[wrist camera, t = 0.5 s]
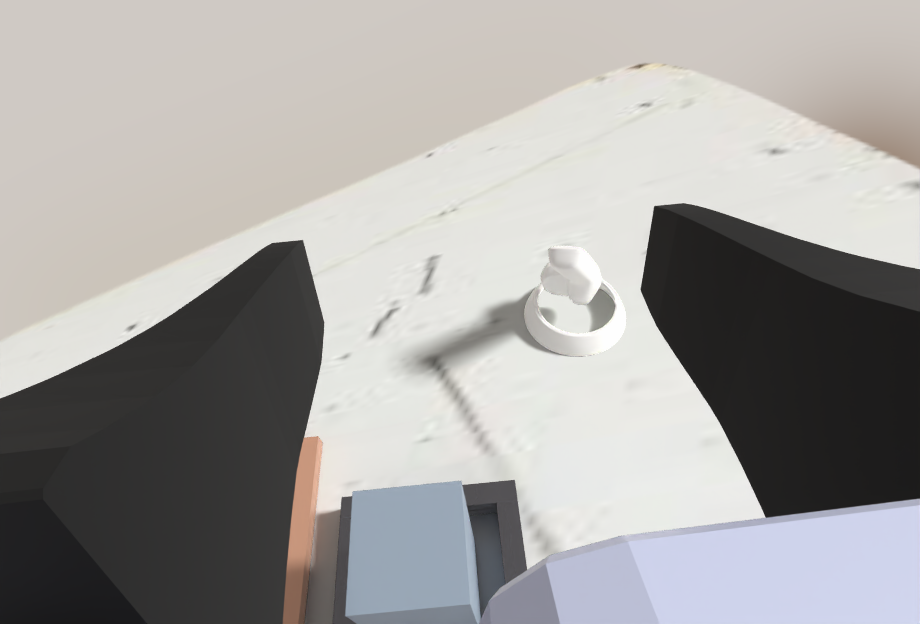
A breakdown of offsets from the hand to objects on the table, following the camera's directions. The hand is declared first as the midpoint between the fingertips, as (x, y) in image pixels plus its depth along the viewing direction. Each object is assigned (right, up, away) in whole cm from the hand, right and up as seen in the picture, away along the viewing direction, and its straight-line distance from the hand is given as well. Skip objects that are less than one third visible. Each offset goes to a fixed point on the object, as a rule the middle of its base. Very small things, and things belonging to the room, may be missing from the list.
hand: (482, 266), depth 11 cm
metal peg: (-2, -14, +13) cm, 19 cm away
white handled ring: (+7, -1, +23) cm, 24 cm away
